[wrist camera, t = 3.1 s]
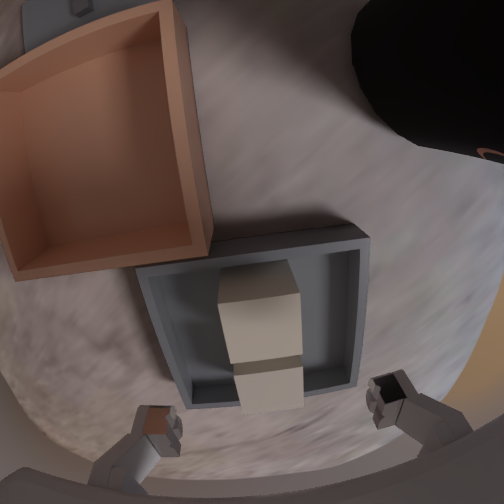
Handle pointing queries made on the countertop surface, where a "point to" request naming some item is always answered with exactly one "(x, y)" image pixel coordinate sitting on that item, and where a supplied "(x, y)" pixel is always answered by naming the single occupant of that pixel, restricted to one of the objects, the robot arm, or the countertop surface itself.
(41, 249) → the terracotta bin
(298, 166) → the countertop surface
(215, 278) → the tray
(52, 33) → the tray lid
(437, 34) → the coffee jar
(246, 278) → the cream cube
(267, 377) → the stone
